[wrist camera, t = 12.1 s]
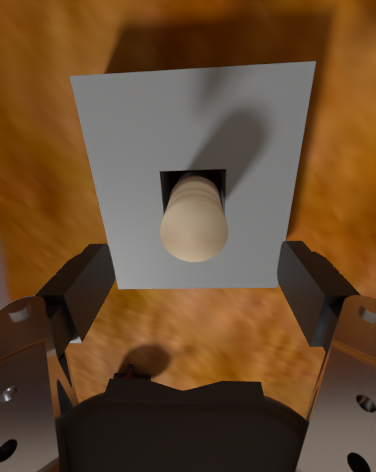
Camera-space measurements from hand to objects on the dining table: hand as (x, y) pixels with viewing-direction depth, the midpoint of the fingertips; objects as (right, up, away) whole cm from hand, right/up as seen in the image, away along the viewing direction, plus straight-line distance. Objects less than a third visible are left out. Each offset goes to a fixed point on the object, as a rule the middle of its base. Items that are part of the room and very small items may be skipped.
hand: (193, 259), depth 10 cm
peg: (+1, +6, +12) cm, 14 cm away
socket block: (0, +6, +12) cm, 14 cm away
